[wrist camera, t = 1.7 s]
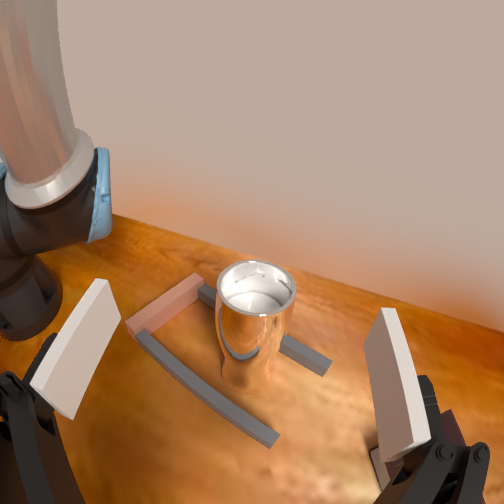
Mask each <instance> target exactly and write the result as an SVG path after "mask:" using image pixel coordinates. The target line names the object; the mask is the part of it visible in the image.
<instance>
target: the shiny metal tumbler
mask: <svg viewBox="0 0 504 504" xmlns="http://www.w3.org/2000/svg"><path fill="white" fill-rule="evenodd" d="M216 288H217V291H216V301H215V324H216V331H217V335H218V339H219V342H220V345H221V348H222V351H223V353H224V356H225V360H224V363H223V366H222V376H223V379H224V381H225V382H226V384H227V385H228V386H229V387H230V388H232V389H233V390H235V391H237V392H241V393H254V392H258V391H260V390H262V389H263V388H264V387H266V386H267V385H268V383H269V382H270V380H271V377H272V364H271V363H272V361H273V360H274V358H275V357H276V355H277V354H278V352H279V350H280V349H281V347H282V345H283V343H284V342H285V340H286V337H287V335H288V332H289V329H290V325H291V321H292V317H293V310H294V303H295V297H296V292H297V288H296V283H295V281H294V279H293V277H292V276H291V275H290V274H289V273H288V272H287V271H286V270H285V269H284V268H282V267H281V266H279V265H277V264H274V263H272V262H268V261H264V260H243V261H239V262H236V263H233V264H231V265H230V266H228V267H227V268H225V269H224V270H223V271H222V272H221V274H220V275H219V277H218V279H217V284H216Z"/></svg>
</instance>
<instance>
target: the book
mask: <svg viewBox="0 0 504 504" xmlns="http://www.w3.org/2000/svg"><path fill="white" fill-rule="evenodd" d="M440 416H441V420H442V424H443V429H444V433H445V436H446V438H447V439H448V440H450V441H451V442H452V443H453V444H454V445H457V446H466V444H465V441H464V438H463V436H462V434H461V431H460V429H459V426H458V424H457V422H456V419H455V417H454V415H453V413H452V411H451V409H449V410H447V411H445V412H444V413H442V414H440ZM369 455H370V458H371V461H372V464H373V467H374V470H375V473H376V477H377V480H378V482H379V485H380V488H381V491H383V490H384V489H385V487H386V486H387V484H388V483H389V481H390V480H391V479H392V477H393V476H394V474H395V473H396V471H397V470H398V468H397V469H395V470H393V468H394V467H395V466H396V465H398V464H399V463H401V462H403V457H401V458H399V459H398V460H395V461H390V462H384V463H380V452H379V444H378V446H376V447H374V448H372V449H370V450H369ZM480 504H485V501H484V498H483V494H482V497H481V500H480Z"/></svg>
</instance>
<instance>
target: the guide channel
mask: <svg viewBox="0 0 504 504" xmlns="http://www.w3.org/2000/svg"><path fill="white" fill-rule="evenodd" d="M198 298H199V299H200V300H201V301H203V302H204V303H206V304H207V305H209V306H210V307H212V308H213V309H214V310H215V301H216V291H215V290H214V289H212V288H211V287H209V286H208V285H206V284H205V281H204V278H203V277H201V276H200V275H198V274H197V273H195V272H194V273H193V274H191V275H190V276H189V277H187V278H186V279H184V280H183V281H181V282H180V283H179V284H177V285H176V286H174V287H173V288H171V289H170V290H169V291H167V292H166V293H164V294H163V295H161V296H160V297H159V298H157V299H156V300H154V301H153V302H151V303H150V304H149V305H147V306H146V307H144V308H143V309H142V310H140V311H139V312H137V313H136V314H135V315H133V316H132V317H130V318H129V319H128V320H126V321H125V324H126V327H127V329H128V331H129V334H130V336H131V337H132V338H133V339H134V340H135V341H136V342H137V343H138V344H139V345H140V346H141V347H142V348H143V349H144V350H145V351H146V352H147V353H148V354H149V355H150V356H152V357H153V358H154V359H155V360H156V361H157V362H158V363H159V364H160V365H161V366H162V367H163V368H164V369H165V370H167V371H168V372H169V373H170V374H171V375H172V376H173V377H174V378H175V379H177V380H178V381H179V382H180V383H181V384H182V385H184V386H185V387H186V388H187V389H188V390H189V391H191V392H192V393H193V394H194V395H195V396H197V397H198V398H199V399H200V400H202V401H203V402H204V403H205V404H207V405H208V406H209V407H211V408H212V409H213V410H214V411H216V412H217V413H218V414H220V415H221V416H222V417H224V418H225V419H226V420H228V421H229V422H230V423H232V424H233V425H235V426H236V427H237V428H239V429H240V430H242V431H243V432H245V433H246V434H247V435H249V436H250V437H252V438H253V439H255V440H256V441H258V442H259V443H261V444H263V445H264V446H266V447H267V448H269V449H270V448H271V446H272V445H273V444H274V443H275V441H276V440H277V439H278V438H279V436H280V434H279V433H277V432H275V431H274V430H272V429H271V428H269V427H268V426H266V425H264V424H263V423H261V422H260V421H258V420H257V419H255V418H254V417H252V416H251V415H249V414H248V413H247V412H245V411H244V410H242V409H241V408H239V407H238V406H237V405H235V404H234V403H232V402H231V401H230V400H228V399H227V398H226V397H224V396H223V395H221V394H220V393H219V392H217V391H216V390H215V389H214V388H212V387H211V386H210V385H208V384H207V383H206V382H205V381H203V380H202V379H201V378H200V377H198V376H197V375H196V374H195V373H193V372H192V371H191V370H190V369H188V368H187V367H186V366H185V365H184V364H182V363H181V362H180V361H179V360H178V359H177V358H175V357H174V356H173V355H172V354H171V353H170V352H169V351H167V350H166V349H165V348H164V347H163V346H162V345H161V344H160V343H158V342H157V341H156V340H155V339H154V338H153V337H152V336H151V334H152V333H154V332H155V331H156V330H158V329H159V328H160V327H162V326H163V325H164V324H165V323H167V322H168V321H169V320H171V319H172V318H173V317H175V316H176V315H177V314H178V313H180V312H181V311H182V310H184V309H185V308H186V307H188V306H189V305H190V304H192V303H193V302H194V301H195V300H197V299H198ZM279 352H281V353H283V354H284V355H286V356H288V357H289V358H291V359H293V360H294V361H296V362H298V363H299V364H301V365H303V366H304V367H306V368H308V369H310V370H311V371H313V372H315V373H316V374H318V375H320V376H322V377H323V376H324V374H325V373H326V371H327V370H328V368H329V366H330V365H331V363H332V360H330V359H328V358H327V357H325V356H323V355H321V354H319V353H318V352H316V351H314V350H312V349H311V348H309V347H307V346H305V345H304V344H302V343H300V342H298V341H297V340H295V339H293V338H292V337H290V336H288V335H287V337H286V340H285V342H284V343H283V345H282V347H281V349H280V350H279Z"/></svg>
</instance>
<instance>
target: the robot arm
mask: <svg viewBox="0 0 504 504" xmlns="http://www.w3.org/2000/svg"><path fill="white" fill-rule="evenodd" d="M0 157H1V159H2V161H3V162H2V163H0V334H1V335H2V336H3V337H4V338H6V339H8V340H11V341H22V340H26V339H29V338H31V337H33V336H35V335H37V334H38V333H40V332H41V331H42V330H43V329H45V328H46V327H47V326H48V325H49V324H50V322H51V321H52V320H53V319H54V317H55V316H56V314H57V312H58V310H59V308H60V305H61V301H62V289H61V286H60V284H59V282H58V280H57V278H56V276H55V275H54V273H53V272H52V271H51V270H50V269H49V268H48V267H47V266H46V265H45V264H44V262H43V261H42V260H41V259H40V258H39V257H38V256H37V255H36V254H39V253H43V252H47V251H52V250H56V249H61V248H65V247H70V246H74V245H79V244H89V243H90V242H92V241H96V240H100V239H103V238H106V237H107V236H108V235H109V234H110V233H111V231H112V208H111V188H110V158H109V150H108V149H107V148H100V147H96V148H95V149H94V146H93V143H92V140H91V138H90V136H89V135H88V134H87V133H85V132H84V131H82V130H80V129H77V128H75V126H74V122H73V118H72V113H71V109H70V104H69V100H68V95H67V90H66V84H65V79H64V73H63V66H62V59H61V51H60V43H59V33H58V21H57V0H0ZM120 320H121V316H120V313H119V311H118V308H117V305H116V302H115V300H114V297H113V294H112V291H111V288H110V285H109V282H108V280H104V279H98V278H96V279H95V280H94V281H93V283H92V284H91V286H90V287H89V288H88V290H87V291H86V293H85V294H84V296H83V297H82V298H81V300H80V301H79V303H78V304H77V306H76V307H75V309H74V310H73V312H72V313H71V315H70V316H69V318H68V319H67V321H66V322H65V324H64V325H63V327H62V329H61V330H60V332H59V333H58V334H57V333H52V334H51V335H50V336H49V337H48V338H47V339H46V340H45V342H44V343H43V345H42V347H41V349H40V350H39V351H38V353H37V356H36V357H35V358H34V360H33V362H32V363H31V365H30V367H29V369H28V371H27V372H26V374H25V376H24V378H23V379H22V381H20V380H19V379H18V377H17V376H16V375H15V374H14V373H13V372H11V371H5V372H4V373H2V374H1V375H0V416H1V417H3V420H2V422H1V421H0V504H85V501H84V499H83V497H82V495H81V492H80V490H79V488H78V485H77V483H76V480H75V478H74V475H73V473H72V470H71V467H70V465H69V462H68V459H67V456H66V453H65V450H64V447H63V443H62V440H61V437H60V433H59V429H58V426H57V422H56V418H55V415H54V413H53V411H54V409H55V410H56V411H57V412H58V413H59V414H61V415H63V416H65V417H67V418H69V419H71V420H73V419H74V417H75V414H76V412H77V409H78V407H79V405H80V402H81V400H82V398H83V395H84V393H85V391H86V389H87V387H88V384H89V382H90V380H91V378H92V376H93V374H94V371H95V369H96V367H97V365H98V363H99V361H100V359H101V357H102V355H103V353H104V351H105V349H106V347H107V345H108V343H109V341H110V339H111V337H112V335H113V333H114V331H115V329H116V327H117V325H118V324H119V322H120ZM363 346H364V351H365V356H366V361H367V367H368V372H369V378H370V384H371V390H372V396H373V403H374V410H375V417H376V425H377V433H378V442H379V452H380V463H384V462H390V461H395V460H398V459H399V458H401V457H403V462H401V463H399V464H398V465H396V466H395V467H394V468H393V470H395V469H397V468H398V470H397V471H396V473H395V474H394V476H393V477H392V479H391V480H390V481H389V483H388V484H387V486H386V487H385V489H384V490H383V491H382V493H381V494H380V495H379V497H378V498H377V499H376V501H375V502H374V503H373V504H480V500H481V497H482V493H483V489H484V485H485V480H486V476H487V470H488V465H489V459H490V451H489V447H488V446H487V445H486V444H485V443H483V442H478V443H476V444H474V445H473V446H471V447H469V446H457V445H454V444H453V443H452V442H451V441H450V440H448V439H447V438H446V436H445V433H444V429H443V424H442V420H441V416H440V411H439V407H438V405H437V400H436V397H435V392H434V388H433V385H432V383H431V382H430V380H429V379H428V377H427V376H426V375H420V376H417V375H416V371H415V368H414V364H413V361H412V358H411V354H410V351H409V348H408V345H407V341H406V338H405V335H404V332H403V329H402V326H401V323H400V321H399V318H398V315H397V312H396V309H395V308H381V309H380V311H379V313H378V316H377V318H376V320H375V322H374V324H373V326H372V328H371V330H370V332H369V334H368V336H367V338H366V340H365V342H364V344H363Z"/></svg>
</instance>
